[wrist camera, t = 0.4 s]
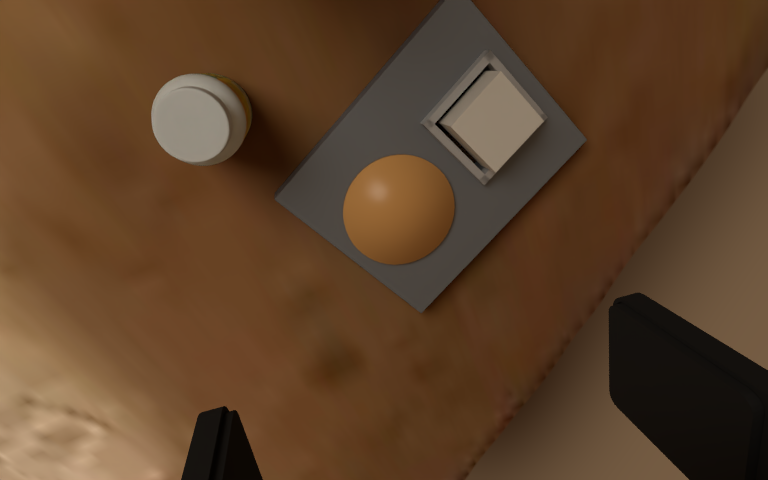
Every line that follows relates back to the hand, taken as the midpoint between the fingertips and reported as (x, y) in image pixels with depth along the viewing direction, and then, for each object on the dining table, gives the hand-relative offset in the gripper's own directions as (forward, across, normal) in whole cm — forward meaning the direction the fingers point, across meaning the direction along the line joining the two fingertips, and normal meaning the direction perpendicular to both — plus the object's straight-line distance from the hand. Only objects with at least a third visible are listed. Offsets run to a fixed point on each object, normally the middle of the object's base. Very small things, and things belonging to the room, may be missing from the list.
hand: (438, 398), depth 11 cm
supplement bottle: (+28, +7, -6) cm, 30 cm away
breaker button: (+26, -12, -2) cm, 29 cm away
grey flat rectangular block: (+28, -8, +1) cm, 29 cm away
